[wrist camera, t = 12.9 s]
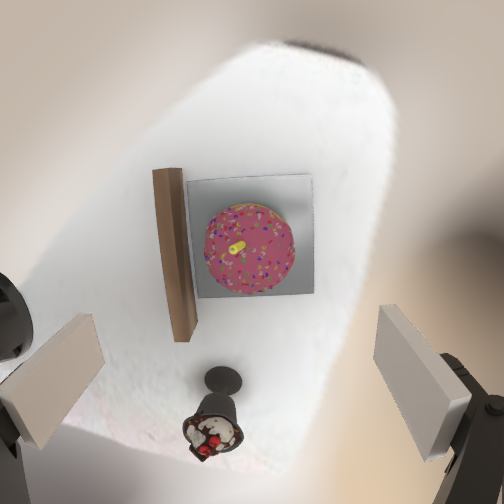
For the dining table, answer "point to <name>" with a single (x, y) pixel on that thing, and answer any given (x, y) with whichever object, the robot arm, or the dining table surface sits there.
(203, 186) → the board
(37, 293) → the dining table surface
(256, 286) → the cupcake
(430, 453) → the robot arm
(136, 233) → the dining table surface
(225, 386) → the sundae
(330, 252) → the dining table surface
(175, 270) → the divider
